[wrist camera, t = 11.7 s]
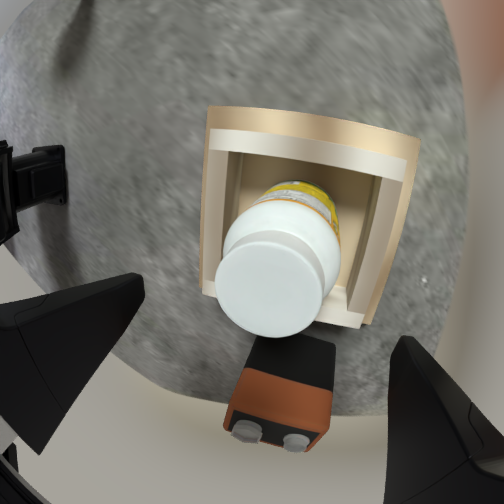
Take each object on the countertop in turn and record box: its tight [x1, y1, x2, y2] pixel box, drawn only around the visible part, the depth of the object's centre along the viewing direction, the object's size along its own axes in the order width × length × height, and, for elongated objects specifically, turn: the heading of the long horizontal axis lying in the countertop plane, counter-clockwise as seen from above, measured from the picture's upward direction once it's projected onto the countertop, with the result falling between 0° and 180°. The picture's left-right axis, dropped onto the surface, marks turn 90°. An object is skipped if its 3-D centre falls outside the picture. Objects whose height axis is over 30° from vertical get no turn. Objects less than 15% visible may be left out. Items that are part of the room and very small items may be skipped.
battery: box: [223, 333, 336, 453], centre depth 20 cm, size 4×7×10 cm, turn 78°
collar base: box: [199, 106, 421, 329], centre depth 17 cm, size 14×14×4 cm
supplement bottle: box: [215, 179, 341, 338], centre depth 14 cm, size 5×5×10 cm
